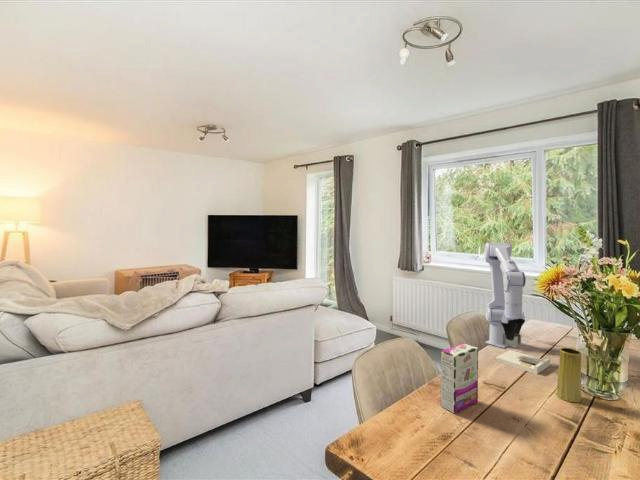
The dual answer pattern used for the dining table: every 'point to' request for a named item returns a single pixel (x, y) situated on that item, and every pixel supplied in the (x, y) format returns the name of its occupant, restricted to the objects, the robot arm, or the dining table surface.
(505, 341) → the clip
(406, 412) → the dining table surface
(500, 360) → the frame
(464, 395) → the candy bar box
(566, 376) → the vase
